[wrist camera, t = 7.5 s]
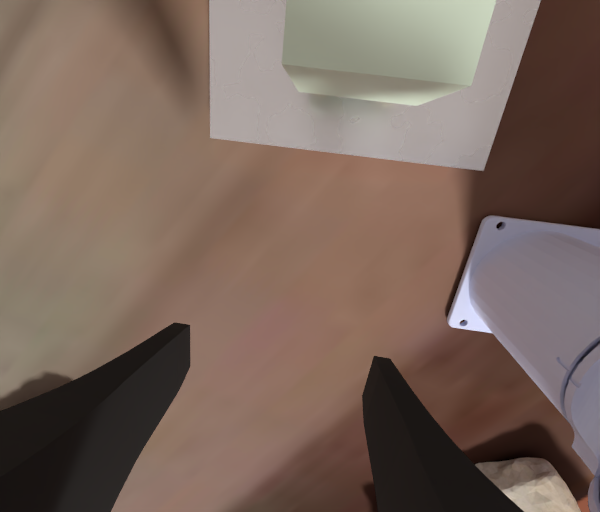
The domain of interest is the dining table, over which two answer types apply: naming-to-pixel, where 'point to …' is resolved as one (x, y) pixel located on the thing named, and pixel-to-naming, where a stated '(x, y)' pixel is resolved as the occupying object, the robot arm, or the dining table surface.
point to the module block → (384, 47)
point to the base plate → (348, 111)
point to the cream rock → (531, 484)
